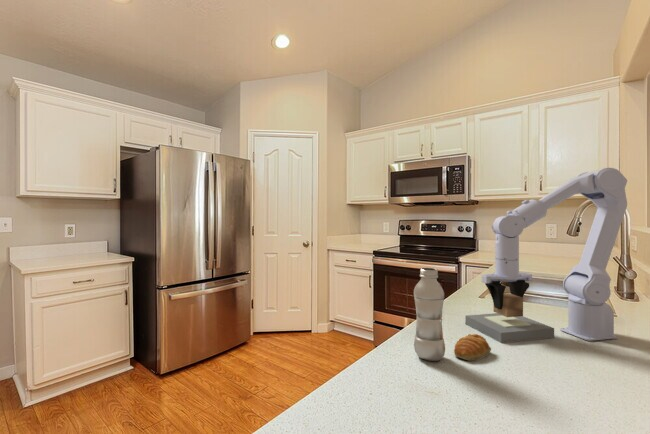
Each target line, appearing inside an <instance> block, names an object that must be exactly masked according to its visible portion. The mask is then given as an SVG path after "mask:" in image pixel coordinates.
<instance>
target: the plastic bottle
mask: <svg viewBox="0 0 650 434" xmlns="http://www.w3.org/2000/svg"><path fill="white" fill-rule="evenodd" d="M438 272H439V271H438V269H437V268H434V267H421V268H420V270H419V273H420V274H419V278H420V279H419V281H418V282H417V283H416V284H415V286H414V289H413V297H414V305H415V313H416V326H415V336H414V339H413V340H414V341H413V347H414V351H415V353H416V355H417V356H418V357H419V358H420V359H423V360H425V361H431V362H438V361H440V360H442V359H443V358H444V356H445V353H446V343H445V339H444V333H443V324H442V323H443V308H444V301H445V292H444V289H443V287H442V286H441V284H440V282H439V281H438V280H437V279H438V278H439V273H438Z"/></svg>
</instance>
